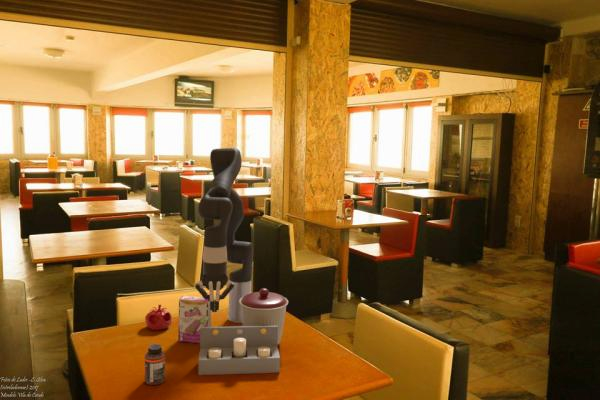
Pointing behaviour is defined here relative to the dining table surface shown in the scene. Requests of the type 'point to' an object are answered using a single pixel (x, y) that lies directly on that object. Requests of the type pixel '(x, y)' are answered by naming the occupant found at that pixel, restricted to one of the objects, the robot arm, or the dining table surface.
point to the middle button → (239, 347)
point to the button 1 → (215, 353)
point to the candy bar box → (193, 318)
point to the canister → (264, 310)
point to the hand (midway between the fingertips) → (214, 311)
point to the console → (225, 342)
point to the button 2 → (263, 352)
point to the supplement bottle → (154, 365)
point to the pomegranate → (158, 319)
